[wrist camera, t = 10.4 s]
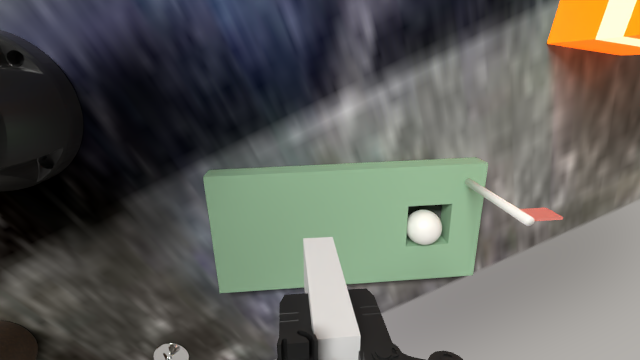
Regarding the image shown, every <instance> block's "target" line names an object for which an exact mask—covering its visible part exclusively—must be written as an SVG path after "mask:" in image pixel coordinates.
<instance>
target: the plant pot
mask: <svg viewBox="0 0 640 360" xmlns="http://www.w3.org/2000/svg"><path fill="white" fill-rule="evenodd" d="M37 353H38V345H37V342H36V339H35V338H34V336H33V335H32V334H31V333H30V332H29V331H28V330H26V329H25V328H23V327H22V326H20V325H18V324H15V323H12V322H8V321H0V360H36V356H37Z"/></svg>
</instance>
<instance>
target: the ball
mask: <svg viewBox="0 0 640 360" xmlns="http://www.w3.org/2000/svg"><path fill="white" fill-rule="evenodd" d="M441 232H442V224H441V221H440V219H439V217H438V216H437V215H436V214H435V213H433V212H431V211H429V210H417V211H415V212H413V213H412V214H411V215H410V216H409V217H408V219H407V235H408V236H409V238H410V239H411V240H412V241H414V242H415V243H417V244H421V245H428V244H432V243H434V242H435V241H436V240H437V239H438V238H439V237H440V235H441Z"/></svg>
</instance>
